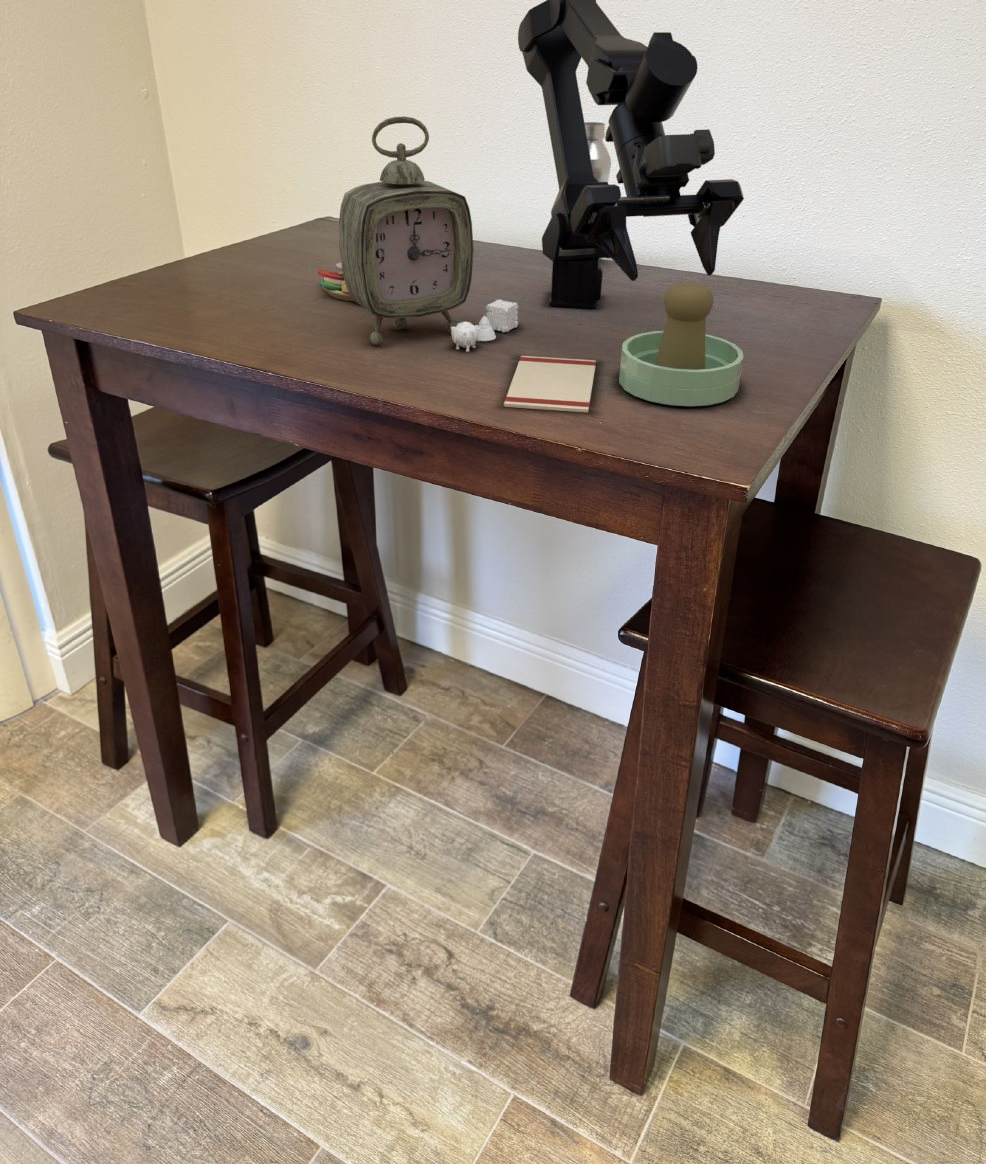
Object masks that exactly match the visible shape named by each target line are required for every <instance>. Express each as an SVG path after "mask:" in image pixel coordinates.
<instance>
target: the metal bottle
mask: <svg viewBox="0 0 986 1164" xmlns="http://www.w3.org/2000/svg"><path fill="white" fill-rule="evenodd" d="M584 123H585V129H586V134H587V140H588V146H589V152H590V157H591V163H592V169H593V174H594V177H595V178H596V179H597V180H598V182H608V183H609V179H610V174H611V168H612V159H611V155H610V153H609V151H608V148H607V147H606V145H605V143H604V139H605V136H606V123H604V122H598V121H597V122H596V121H586V122H585V121H584ZM601 259H602V258H600V259H599V261H600V260H601Z"/></svg>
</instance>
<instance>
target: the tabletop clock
mask: <svg viewBox="0 0 986 1164" xmlns="http://www.w3.org/2000/svg"><path fill="white" fill-rule="evenodd" d="M396 124H411V125H413V126H417V127H418V128H419V129H420V130H421V131H422V133H423V134H424V140H423V143H422V144H420V145H419V146H418V147H415V148H413V149H408V150H407V149H406V148H407V146H406V145H405V144H404V143H401V142H400V143H398V144H397V145H396V150H388V149H383V148H382V147H380V146H379V145H378V143H377V136H378V135H379V133H380V132H381V131H382V130H383V129H384V128H386V127H388V126H390V125H396ZM429 140H430V134H429V131H428V128H427V127H426V125H425V124H424V123H423V122H422V121H421V120H418V119H417V118H415V117H410V116H393V117H389V118H386V119H383V121H381V122H379V123H378V125H377V126H376V127H375V128H374V130H373V133H372V135H371V143H372V146H373V148H374V149H375V150H376V151H377V152H378V153H379V154H381V155H382V156H385V157H388V158H393V160H391V161H390V162H388V163H387V164H386V165H385V166H384V168H383V169H382V171H381V173H380V177H379V181H377V182H372V183H371V182H370V183H366V184H360V185H358V186H355V187H353V188H351V189H350V190H348V191H346V192H344V195H343V196H342V197H343V198H342V201H341V203H340V208H339V209H340V211H339V219H338V220H339V221H338V227H339V228H338V238H339V239H338V240H339V241H338V243H339V244H338V245H339V246H338V248H339V257H340V262H341V263H342V270H343V271H342V272H343V276H344V280H345V284H346V287H347V290H348V292H349V294H350V296H351V298H352V299H353V300H355V301H356V304H358V305H360V306H361V307H362V308H364V309H365V310H366V311H368V312H369V313H370V314H372V315H373V316H375V321H374V324H375V325H374V331H372V332H370V334H368V342H369V344H371V346H379V345H380V344H381V343H382V340H383V338H382V335H381V333H380V329H381V326H382V323H383V319H394V321H393V325H394V327H395V328H396V329H397V330H404V329H405V328H406V327H407V325H408V324H407V323H408V322H407V319H408V318H421V317H426V316H431V315H434V314H439V313H441V314H442V316H443V317H444V318H445V320H446V321H447V326H446V327H447V331H448V332H449V333H451V332H452V330H451V327H456V326H457V324H458V323H459V321H458V320H455V319H454V320H453V319H452V317H451V315H450V313H449V311H451V310H454V309H456V308H458V307H459V306H461V305H462V304H464V303H466V301H467V298H468V296H469V292H470V288H471V283H472V278H473V277H472V275H473V263H474V251H475V249H474V237H473V236H474V235H473V221H472V215H471V210H470V207H469V204H468V201H467V199H466V196H464V195H462V194H460V193H458V192H456V191H453V190H451V189H448V188H446V187H444V186H441V185H439V184H436V183H434V182H431V181H429V180H425V175H424V172H423V171H422V169H421V167H420V166H419V165H418V164H417V163H416V162H414V161H412V160H409V159H407V158H410V157H413V156H416V155H417V154H420V153H422V152H423V151H424V150H425V148H426V147H427V146H428V144H429ZM355 301H354V302H355Z"/></svg>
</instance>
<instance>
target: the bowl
mask: <svg viewBox="0 0 986 1164" xmlns="http://www.w3.org/2000/svg"><path fill="white" fill-rule="evenodd" d="M663 331H664V330H655V331H648V332H643V333H638V334H635V335H633V336H630V337H628V338H627V339H625V341H623V343H622V344H621V355H620V367H619V377H618V383H619V385H620V386H621V387H622V388H623V390H624V391H625V392H627V393H629V394H631V395H632V396H634V397H636V398H639V399H642V400H645V401H647V402H652V403H657V404H661V405H665V406H666V405H667V406H676V407H677V406H678V407H680V406H681V407H703V406H704V407H705V406H712V405H715V404H721V403H725V402H726V401H728V400H730V399H732V398H734V397H735V396H736V394H737V393H738V391H739V388H740V382H741V376H742V369H743V366H744V365H743V364H744V358H745V357H744V353H743V350H742V349H741V348H740V347H739V346H737V344H735V343H733V342H731V341H728V340H727V339H725V338H721V337H718V336H715V335H712V334H707V333H706V338H705V369H700V370H688V369H674V368H668V367H662V366H657V365H655V363H656V359H657V355H658V351H659V347H660V343H661V339H662V335H663Z"/></svg>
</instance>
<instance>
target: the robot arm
mask: <svg viewBox="0 0 986 1164" xmlns="http://www.w3.org/2000/svg"><path fill="white" fill-rule="evenodd" d="M517 43H518V48H519V52H521V53H522V56H523V61H524V65H525V69H526V71H527V73H528V74H529V75H530V76H531V77H532V78H533V80H534V81H535V82H536V83H537V84H538V85H539V86H540V88H541V91H542V97H543V103H544V108H545V109H544V110H545V114H546V120H547V126H548V133H549V137H550V144H551V149H552V155H553V161H554V168H555V172H556V178H557V183H558V192H557V194H556V198H555V199H554V201H553V204H552V207H551V210H550V215H551V216H550V217H551V218H550V220H549V222H548V224H547V226H546V229H545V230H544V233H543V235H542V236H541V247H542V248H541V249H542V254H543V255H544V256H545V257H546V258H548V259H549V260H550V261H552V270H551V274H552V275H551V288H550V289H551V290H550V291H551V293H550V298H549V300H548V301H549V302H548V305H549V306H553V307H567V308H568V307H571V308H586V309H595V308H596V307H597V302H599V301H601V298H602V289H603V277H604V275H603V274H604V267H603V266H602V265H600V260H601V259H611V260H612V261H613V262H614V263H615V264H616V265H617V266H618V267H619V269H621V271H622V272H623V273H624V274H625V275H626V276H627V277H628V278H629V280H630V281H632V282H635V281H636V280H637V279H638V278H639V272H638V271H639V270H638V264H637V260H636V256H635V253H634V249H633V246H632V242H631V239H630V236H629V232H628V228H627V218H630V217H632V218H633V217H643V218H647V217H648V218H649V217H666V216H667V217H668V216H683V215H684V216H685V215H687V218H688V221H689V225H690V226H692V227H693V228H692V230H691V231H690V236H691V239H692V241H693V243H694V246H695V249H696V251H697V254H698V257H699V260H700V263H701V264H702V267H703V269H704V271H705V273H706V275H707V276H712V275H713V274H714V272H715V270H716V263H717V254H718V245H719V237H720V231H721V227H723V226H725V225H726V223H727V222H728V221H729V219H730V218H731V217H732V216H733V214H734V213H735V211H737V209H738V207H739V206H740V205H741V204H742V203H743V202H744V200H745V197H744V194H743V190H742V185H741V184H740V183H739V181H738V180H735V179H732V178H731V179H707V180H704V182H703V183H702V185H701V186H700V188H699V189H698V191H697V192H696V194H681V188H686V186H687V185H688V184H689V181H690V177H689V173H691V172H692V171H694V170H695V169H696V170H699V169H700V168H701V167H702V166H705V165H706V164H708V163H710V162H711V161H712V160H713V159H714V158H715V153H716V152H715V150H716V149H715V141H714V138H713V135H712V132H711V130H710V129H709V128H708V129H695V130H694V131H693V132H692V133H687V134H686V133H685V134H666V133H665V128H664V125H663V122H666V121H668V120H670V119H671V118H673V116H674V115H675V113H676V111H677V110H678V107H679V106H680V104H681V103H682V101H683V99H684V97H685V95H686V94H687V92H688V90H689V88H690V86H691V85H692V83H693V80H694V79H695V77H696V75H697V74H698V69H699V68H698V60H697V57H696V56H695V55H693V54H692V52H691V51H690V50H689V49H688V48H687V47H686V46H684V45H683V44H682V43H680V42H678V41H675V40H674V38H673V35H672V32H670V31H668V32H667V31H666V32H665V31H664V32H662V31H661V32H659V31H657V32H656V31H654V32H653V33H652V34H651V37H650V39H649V42H648V44H647V45H645V44H644V43H642V42H640V41H637V40H633V39H630V38H626V37H624V36H623V35H622V34H621V32H620V31H619V30H618V29H617V28H616V27H615V25H614V23H613V22H612V21H611V20H610V18H609V17H608V15H607V14H606V13H605V12H604V11H603V9H602V8H601V7H600V5H599V4H598V2H597V0H545V1H542V2H541V3H539V4H537V5H535V6H533V7H531V8H530V9H529V10H528V11H527V12H526V14H525V16H524V17H523V19H522V20H521V22H520V24H519V26H518V31H517ZM581 60H583V62H585V63H584V64H586V66H587V74H586V75H587V77H586V81H585V84H586V87H587V89H588V92H589V94H590V96H591V98H592V100H593V101H594V103H595V104H596V105H597V106H615V107H614V108H613V110H612V112H611V114H610V115H609V117H608V127H607V129H606V130H605V138H604V140H605V142H606V143H613V145H614V150H615V154H616V157H617V164H618V167H619V169H618V171H617V173H616V174H615V177H616V182H617V184H623V188H624V191H625V194H626V196H622V193H621V189H620V186H619V185H617V184H609V181H608V182H598V180H597V179H596V178H595V177H594V174H593V169H592V163H591V157H590V152H589V146H588V140H587V134H586V129H585V123H584V122H585V117H584V113H583V107H582V101H581V95H580V90H579V89H580V88H579V84H578V78H577V77H578V76H577V70H578V67H579V65H580V63H581ZM600 258H601V259H600ZM599 259H600V260H599Z"/></svg>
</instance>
